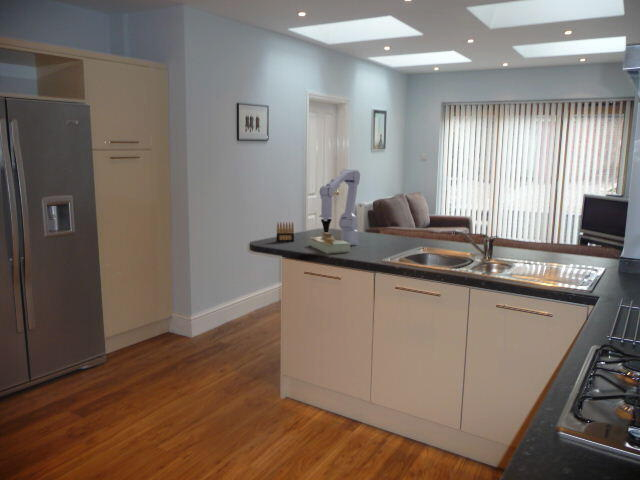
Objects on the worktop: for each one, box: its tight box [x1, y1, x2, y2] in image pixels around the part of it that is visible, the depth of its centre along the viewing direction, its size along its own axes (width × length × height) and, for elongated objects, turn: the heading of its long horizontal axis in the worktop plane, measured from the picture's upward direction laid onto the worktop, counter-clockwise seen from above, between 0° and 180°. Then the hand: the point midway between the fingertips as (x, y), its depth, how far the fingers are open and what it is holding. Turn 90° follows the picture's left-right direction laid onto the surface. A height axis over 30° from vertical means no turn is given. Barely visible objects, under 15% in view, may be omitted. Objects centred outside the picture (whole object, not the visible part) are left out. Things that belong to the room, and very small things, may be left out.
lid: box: [309, 231, 343, 244], centre depth 297 cm, size 14×16×4 cm
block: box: [324, 237, 333, 245], centre depth 282 cm, size 3×6×3 cm, turn 24°
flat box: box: [309, 238, 351, 255], centre depth 294 cm, size 14×24×5 cm, turn 24°
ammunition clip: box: [275, 221, 295, 243], centre depth 313 cm, size 11×2×12 cm, turn 102°
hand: (326, 232), depth 289 cm, fingers closed
